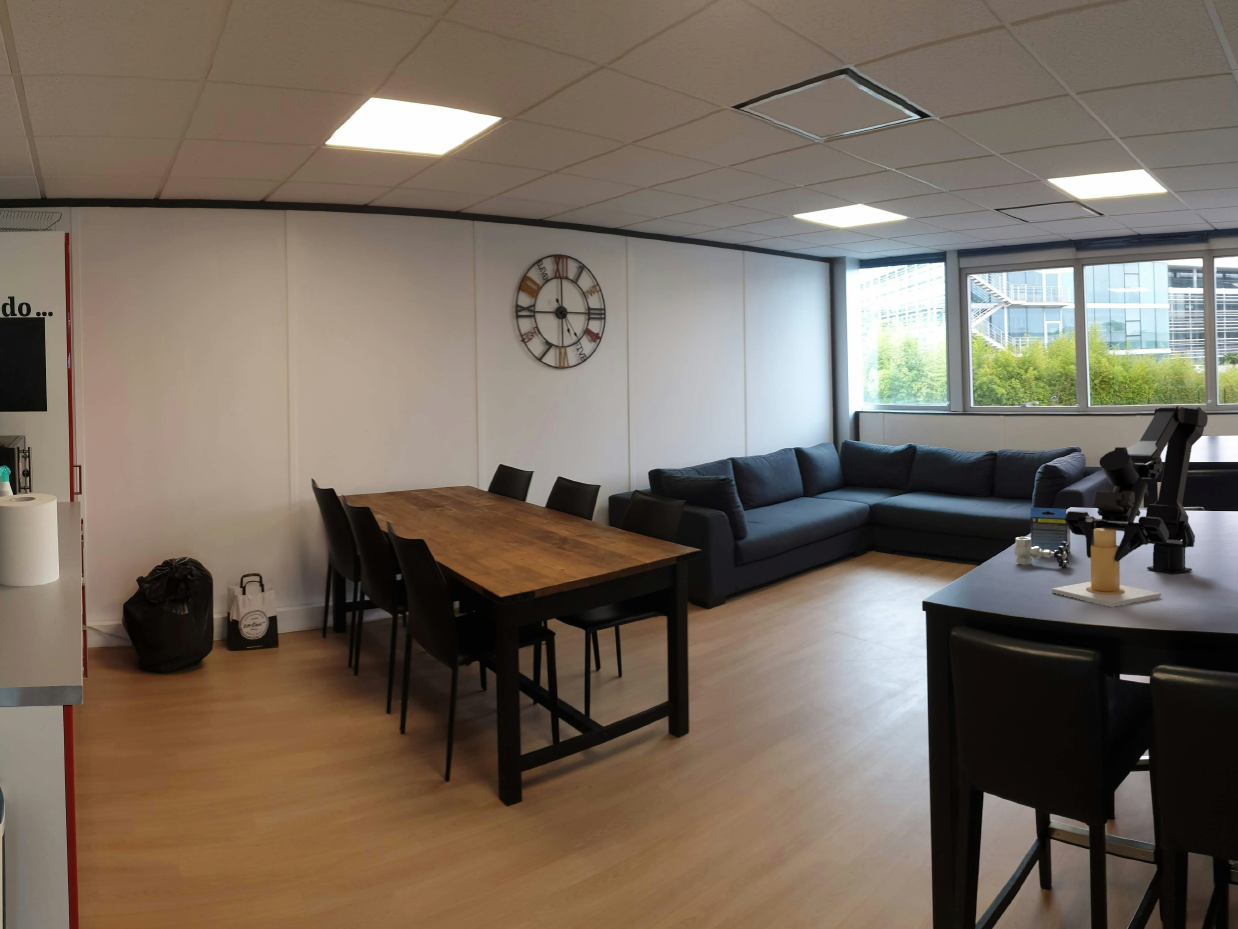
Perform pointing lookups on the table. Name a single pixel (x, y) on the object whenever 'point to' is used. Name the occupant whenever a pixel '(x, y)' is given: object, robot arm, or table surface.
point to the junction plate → (1106, 594)
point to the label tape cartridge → (1049, 528)
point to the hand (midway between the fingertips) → (1101, 558)
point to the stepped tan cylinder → (1104, 561)
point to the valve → (1039, 552)
